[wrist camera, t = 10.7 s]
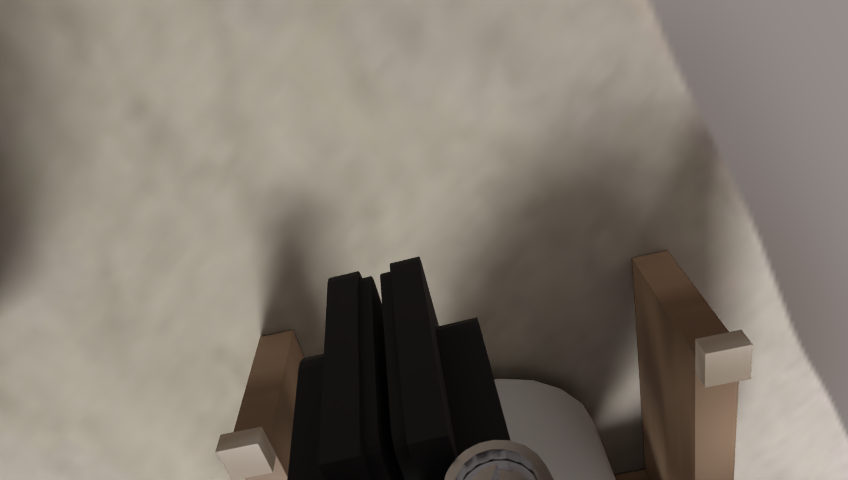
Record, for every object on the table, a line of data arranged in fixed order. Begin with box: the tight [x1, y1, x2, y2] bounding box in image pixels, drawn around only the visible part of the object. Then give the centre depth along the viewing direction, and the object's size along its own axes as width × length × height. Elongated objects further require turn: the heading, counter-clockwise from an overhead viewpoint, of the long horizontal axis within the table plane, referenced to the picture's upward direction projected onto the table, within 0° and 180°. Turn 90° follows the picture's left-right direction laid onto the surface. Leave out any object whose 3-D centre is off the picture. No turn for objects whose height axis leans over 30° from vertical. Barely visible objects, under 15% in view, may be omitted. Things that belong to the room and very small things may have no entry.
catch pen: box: [216, 251, 753, 480], centre depth 22 cm, size 13×14×6 cm
